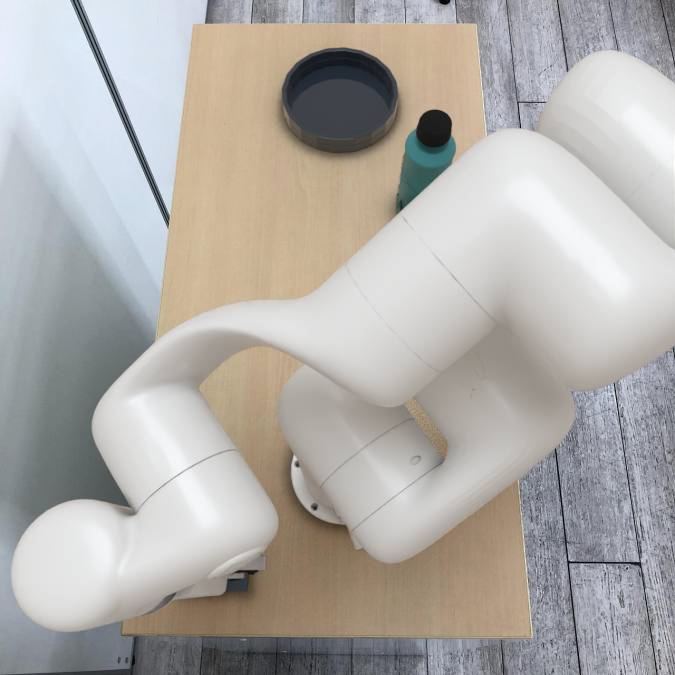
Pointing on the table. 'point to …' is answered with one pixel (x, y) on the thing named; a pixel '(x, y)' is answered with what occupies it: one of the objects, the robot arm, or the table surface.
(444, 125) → the beverage bottle
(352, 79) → the pan
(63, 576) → the robot arm
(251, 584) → the table surface
